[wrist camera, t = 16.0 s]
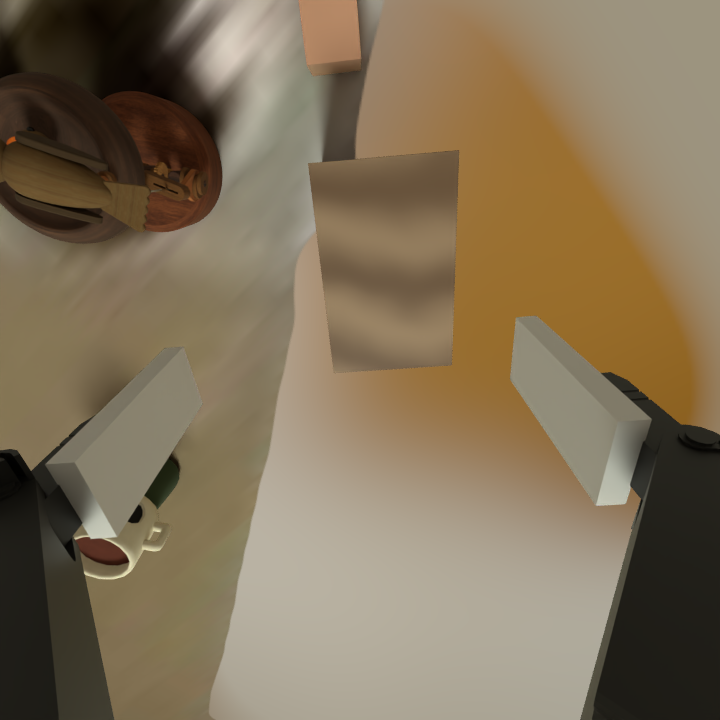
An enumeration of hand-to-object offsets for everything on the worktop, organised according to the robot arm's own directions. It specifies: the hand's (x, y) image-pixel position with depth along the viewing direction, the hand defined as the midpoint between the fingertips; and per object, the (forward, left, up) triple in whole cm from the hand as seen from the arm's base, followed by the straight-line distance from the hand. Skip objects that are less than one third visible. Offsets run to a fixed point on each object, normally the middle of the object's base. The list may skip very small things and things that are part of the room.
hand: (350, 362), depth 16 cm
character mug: (+27, -29, -25) cm, 47 cm away
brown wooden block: (+1, +2, -25) cm, 25 cm away
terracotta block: (-16, -1, -25) cm, 30 cm away
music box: (-8, -18, -25) cm, 32 cm away
